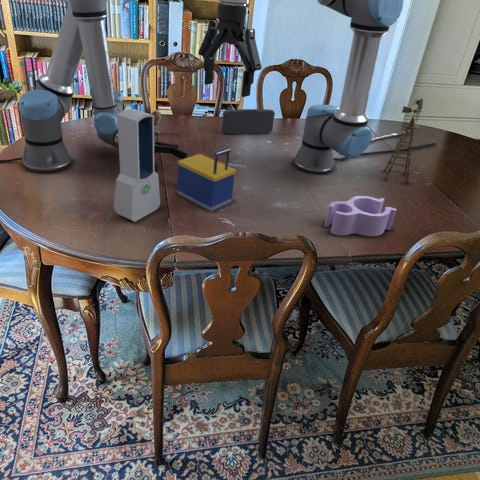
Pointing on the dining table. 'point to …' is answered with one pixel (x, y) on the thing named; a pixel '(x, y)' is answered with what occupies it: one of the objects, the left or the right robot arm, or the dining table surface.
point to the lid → (209, 165)
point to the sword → (387, 136)
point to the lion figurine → (156, 117)
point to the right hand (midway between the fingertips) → (226, 89)
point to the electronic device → (136, 166)
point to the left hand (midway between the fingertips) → (171, 162)
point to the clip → (359, 216)
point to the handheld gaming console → (247, 121)
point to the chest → (204, 189)
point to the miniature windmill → (411, 127)
